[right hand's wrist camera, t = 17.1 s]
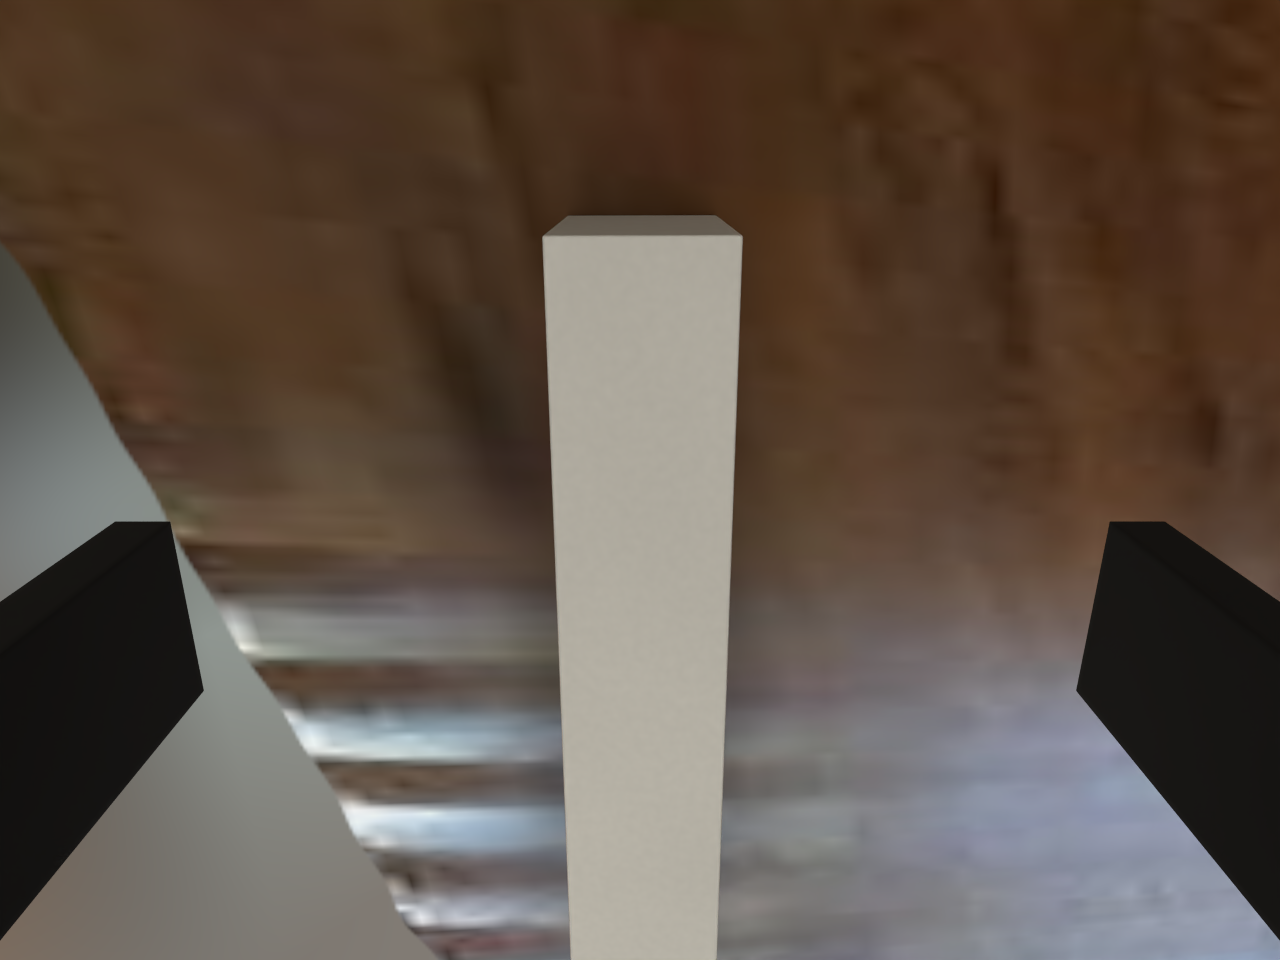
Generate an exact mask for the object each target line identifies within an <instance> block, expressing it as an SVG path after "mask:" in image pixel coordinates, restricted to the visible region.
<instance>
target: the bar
mask: <svg viewBox="0 0 1280 960" xmlns="http://www.w3.org/2000/svg"><path fill="white" fill-rule="evenodd" d="M542 241H543V267H544V292H545V317H546V343H547V368H548V393H549V419H550V444H551V470H552V495H553V520H554V546H555V571H556V596H557V622H558V647H559V673H560V698H561V723H562V749H563V774H564V799H565V825H566V850H567V875H568V901H569V926H570V952H571V960H717V939H718V911H719V883H720V855H721V827H722V800H723V772H724V744H725V716H726V689H727V661H728V633H729V605H730V578H731V550H732V522H733V494H734V467H735V439H736V411H737V383H738V356H739V328H740V300H741V272H742V244H743V237H742V235H741V234H739V233H738V232H737V231H736V230H734V229H733V228H732V227H730V226H729V225H728V224H726V223H725V222H724V221H723V220H721V219H720V218H719V217H717V216H716V215H641V216H567V217H566V218H565V219H563V220H562V221H561V222H560V223H558V224H557V225H556V226H555V227H554V228H552V229H551V230H550V231H549V232H547V233H546V234H545V235H544V236H543V238H542Z"/></svg>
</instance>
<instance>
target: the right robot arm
mask: <svg viewBox="0 0 1280 960" xmlns="http://www.w3.org/2000/svg"><path fill="white" fill-rule="evenodd" d="M203 691H204V689H203V685H202V679H201V674H200V669H199V664H198V659H197V655H196V649H195V644H194V639H193V634H192V629H191V624H190V619H189V614H188V609H187V604H186V599H185V594H184V589H183V584H182V579H181V574H180V569H179V564H178V559H177V554H176V549H175V544H174V539H173V534H172V529H171V524H170V522H114V523H113V524H111V525H110V526H108V527H107V528H105V529H104V530H103V531H101V532H100V533H98V534H97V535H95V536H94V537H93V538H91V539H90V540H88V541H87V542H85V543H84V544H83V545H81V546H80V547H78V548H77V549H75V550H74V551H72V552H71V553H70V554H68V555H67V556H65V557H64V558H62V559H61V560H60V561H58V562H57V563H55V564H54V565H52V566H51V567H50V568H48V569H47V570H45V571H44V572H42V573H41V574H40V575H38V576H37V577H35V578H34V579H32V580H31V581H29V582H28V583H27V584H25V585H24V586H22V587H21V588H19V589H18V590H17V591H15V592H14V593H12V594H11V595H9V596H8V597H7V598H5V599H4V600H2V601H1V602H0V940H1V939H2V938H3V936H4V935H5V934H6V933H7V931H8V930H9V929H10V928H11V926H12V925H13V924H14V923H15V922H16V920H17V919H18V918H19V917H20V915H21V914H22V913H23V912H24V911H25V909H26V908H27V907H28V906H29V904H30V903H31V902H32V901H33V899H34V898H35V897H36V896H37V895H38V893H39V892H40V891H41V890H42V888H43V887H44V886H45V885H46V884H47V882H48V881H49V880H50V879H51V877H52V876H53V875H54V874H55V872H56V871H57V870H58V869H59V868H60V866H61V865H62V864H63V863H64V862H65V860H66V859H67V858H68V857H69V855H70V854H71V853H72V852H73V850H74V849H75V848H76V847H77V846H78V844H79V843H80V842H81V841H82V839H83V838H84V837H85V836H86V834H87V833H88V832H89V831H90V830H91V828H92V827H93V826H94V825H95V823H96V822H97V821H98V820H99V819H100V817H101V816H102V815H103V814H104V812H105V811H106V810H107V809H108V808H109V806H110V805H111V804H112V803H113V801H114V800H115V799H116V798H117V796H118V795H119V794H120V793H121V792H122V790H123V789H124V788H125V787H126V785H127V784H128V783H129V782H130V781H131V779H132V778H133V777H134V776H135V774H136V773H137V772H138V771H139V769H140V768H141V767H142V766H143V765H144V763H145V762H146V761H147V760H148V758H149V757H150V756H151V755H152V754H153V752H154V751H155V750H156V749H157V747H158V746H159V745H160V744H161V742H162V741H163V740H164V739H165V738H166V736H167V735H168V734H169V733H170V731H171V730H172V729H173V728H174V727H175V725H176V724H177V723H178V722H179V720H180V719H181V718H182V717H183V715H184V714H185V713H186V712H187V711H188V709H189V708H190V707H191V706H192V704H193V703H194V702H195V701H196V699H197V698H198V697H199V696H200V695H201V693H202V692H203ZM1076 691H1077V692H1078V693H1079V695H1080V696H1081V697H1082V698H1083V700H1084V701H1085V702H1086V703H1087V704H1088V706H1089V707H1090V708H1091V709H1092V711H1093V712H1094V713H1095V714H1096V716H1097V717H1098V718H1099V719H1100V720H1101V722H1102V723H1103V724H1104V725H1105V727H1106V728H1107V729H1108V730H1109V731H1110V733H1111V734H1112V735H1113V736H1114V738H1115V739H1116V740H1117V741H1118V743H1119V744H1120V745H1121V746H1122V747H1123V749H1124V750H1125V751H1126V752H1127V754H1128V755H1129V756H1130V757H1131V758H1132V760H1133V761H1134V762H1135V763H1136V765H1137V766H1138V767H1139V768H1140V770H1141V771H1142V772H1143V773H1144V774H1145V776H1146V777H1147V778H1148V779H1149V781H1150V782H1151V783H1152V784H1153V785H1154V787H1155V788H1156V789H1157V790H1158V792H1159V793H1160V794H1161V795H1162V796H1163V798H1164V799H1165V800H1166V801H1167V803H1168V804H1169V805H1170V806H1171V808H1172V809H1173V810H1174V811H1175V812H1176V814H1177V815H1178V816H1179V817H1180V819H1181V820H1182V821H1183V822H1184V823H1185V825H1186V826H1187V827H1188V828H1189V830H1190V831H1191V832H1192V833H1193V835H1194V836H1195V837H1196V838H1197V839H1198V841H1199V842H1200V843H1201V844H1202V846H1203V847H1204V848H1205V849H1206V850H1207V852H1208V853H1209V854H1210V855H1211V857H1212V858H1213V859H1214V860H1215V862H1216V863H1217V864H1218V865H1219V866H1220V868H1221V869H1222V870H1223V871H1224V873H1225V874H1226V875H1227V876H1228V877H1229V879H1230V880H1231V881H1232V882H1233V884H1234V885H1235V886H1236V887H1237V888H1238V890H1239V891H1240V892H1241V893H1242V895H1243V896H1244V897H1245V898H1246V900H1247V901H1248V902H1249V903H1250V904H1251V906H1252V907H1253V908H1254V909H1255V911H1256V912H1257V913H1258V914H1259V915H1260V917H1261V918H1262V919H1263V920H1264V922H1265V923H1266V924H1267V925H1268V927H1269V928H1270V929H1271V930H1272V931H1273V933H1274V934H1275V935H1276V936H1277V938H1278V939H1279V940H1280V602H1279V601H1278V600H1276V599H1275V598H1273V597H1272V596H1271V595H1269V594H1268V593H1266V592H1265V591H1263V590H1262V589H1261V588H1259V587H1258V586H1256V585H1255V584H1253V583H1252V582H1251V581H1249V580H1248V579H1246V578H1245V577H1243V576H1242V575H1241V574H1239V573H1238V572H1236V571H1235V570H1233V569H1232V568H1230V567H1229V566H1228V565H1226V564H1225V563H1223V562H1222V561H1220V560H1219V559H1218V558H1216V557H1215V556H1213V555H1212V554H1210V553H1209V552H1208V551H1206V550H1205V549H1203V548H1202V547H1200V546H1199V545H1198V544H1196V543H1195V542H1193V541H1192V540H1190V539H1189V538H1187V537H1186V536H1185V535H1183V534H1182V533H1180V532H1179V531H1177V530H1176V529H1175V528H1173V527H1172V526H1170V525H1169V524H1167V523H1166V522H1110V524H1109V529H1108V534H1107V539H1106V544H1105V549H1104V554H1103V559H1102V564H1101V569H1100V574H1099V579H1098V584H1097V589H1096V594H1095V599H1094V604H1093V609H1092V614H1091V619H1090V624H1089V629H1088V634H1087V639H1086V644H1085V649H1084V654H1083V659H1082V664H1081V669H1080V674H1079V679H1078V684H1077V689H1076Z"/></svg>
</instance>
